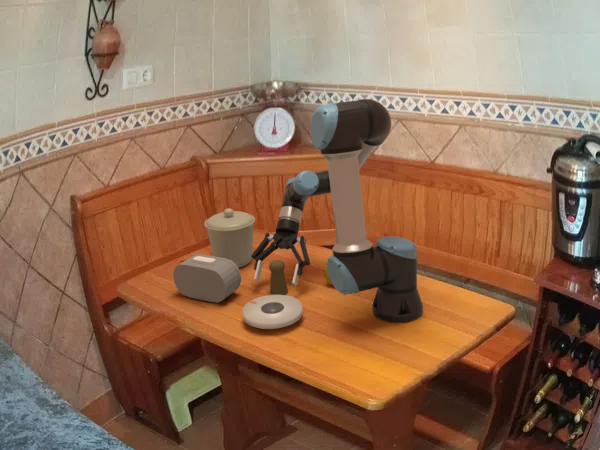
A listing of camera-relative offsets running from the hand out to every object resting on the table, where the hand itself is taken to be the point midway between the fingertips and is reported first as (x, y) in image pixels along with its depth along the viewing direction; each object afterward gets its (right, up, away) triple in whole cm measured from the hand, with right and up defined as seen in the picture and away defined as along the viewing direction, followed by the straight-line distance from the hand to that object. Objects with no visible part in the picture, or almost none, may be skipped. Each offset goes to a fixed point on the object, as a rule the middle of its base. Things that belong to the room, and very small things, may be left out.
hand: (275, 282), depth 220 cm
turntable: (0, -8, -15) cm, 17 cm away
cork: (+1, -4, +4) cm, 5 cm away
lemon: (+19, -2, +6) cm, 20 cm away
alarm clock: (-22, -5, +5) cm, 23 cm away
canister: (-16, +4, +28) cm, 33 cm away
